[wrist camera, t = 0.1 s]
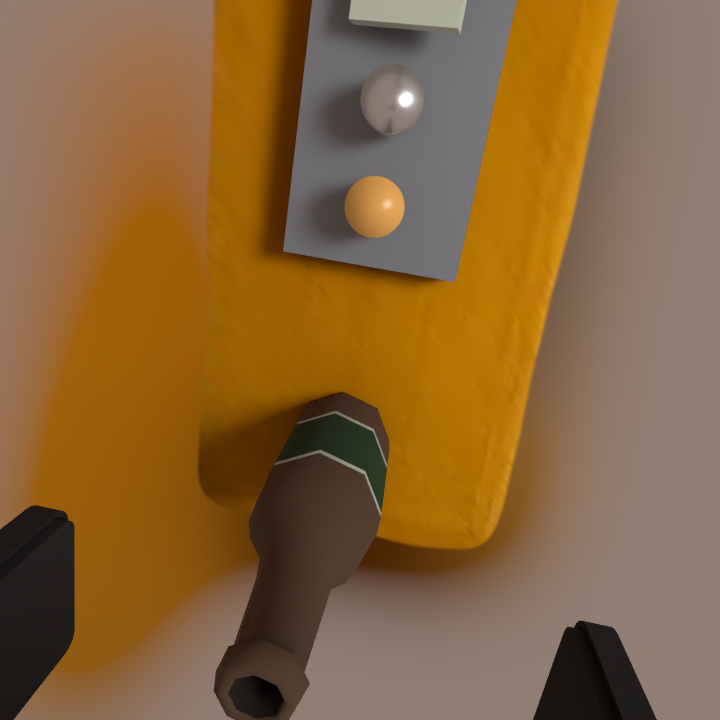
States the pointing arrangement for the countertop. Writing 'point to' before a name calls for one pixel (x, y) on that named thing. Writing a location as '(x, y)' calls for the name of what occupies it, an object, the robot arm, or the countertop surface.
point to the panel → (394, 154)
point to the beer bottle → (304, 551)
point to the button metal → (392, 100)
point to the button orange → (374, 206)
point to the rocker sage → (410, 14)
